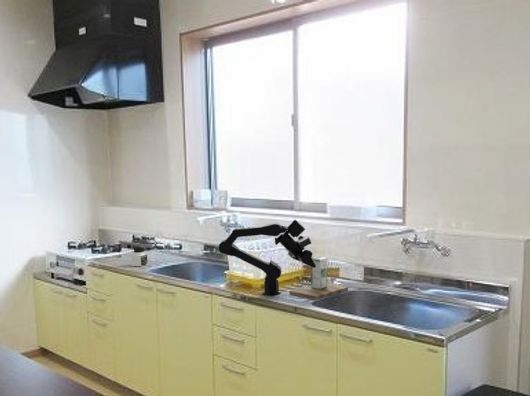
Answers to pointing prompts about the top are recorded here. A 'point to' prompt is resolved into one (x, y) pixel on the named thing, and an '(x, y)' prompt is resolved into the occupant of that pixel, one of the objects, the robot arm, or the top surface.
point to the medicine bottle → (139, 257)
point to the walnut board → (318, 291)
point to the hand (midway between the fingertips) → (311, 265)
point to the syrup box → (319, 273)
